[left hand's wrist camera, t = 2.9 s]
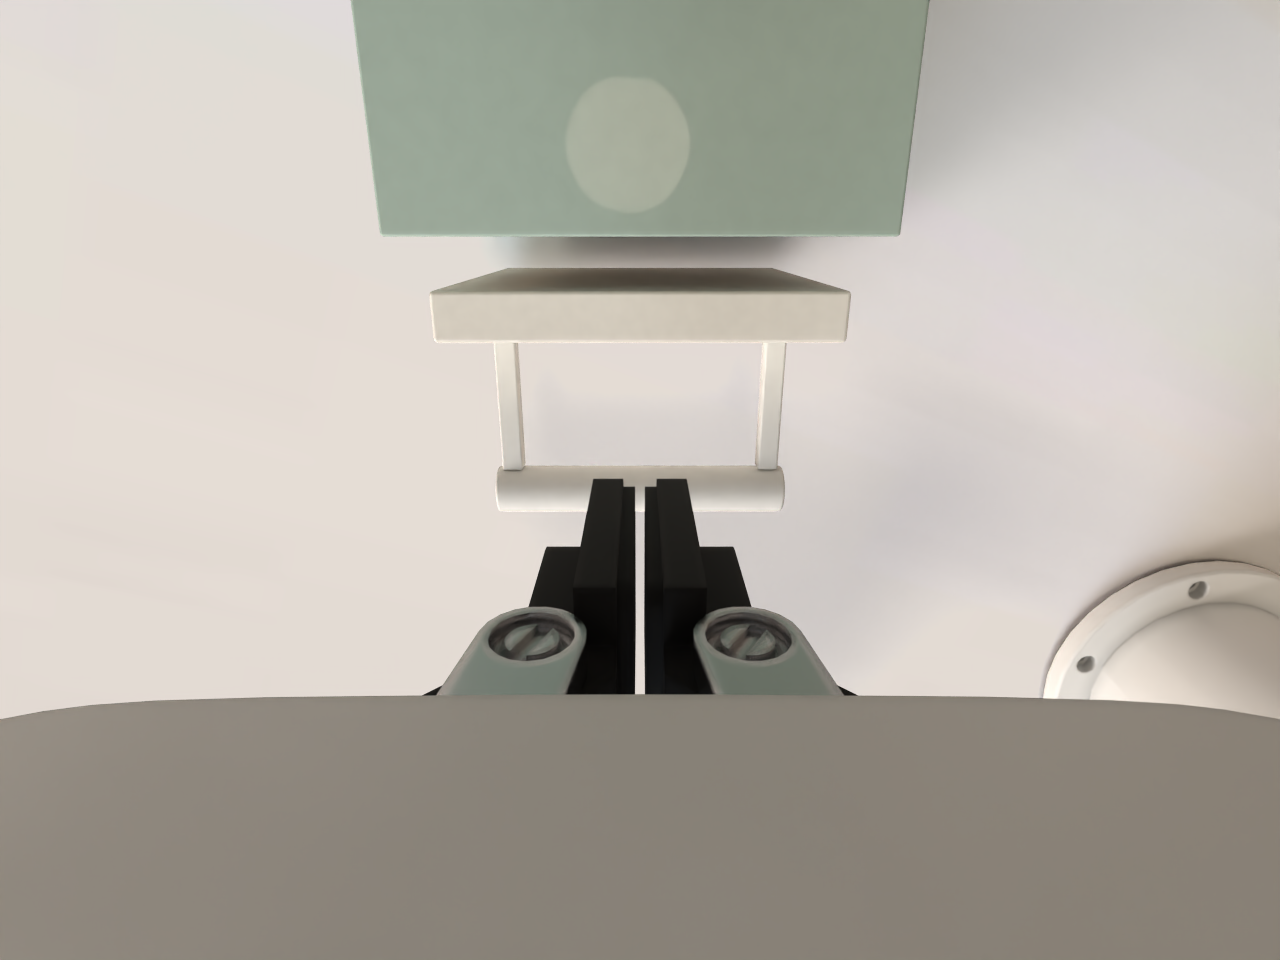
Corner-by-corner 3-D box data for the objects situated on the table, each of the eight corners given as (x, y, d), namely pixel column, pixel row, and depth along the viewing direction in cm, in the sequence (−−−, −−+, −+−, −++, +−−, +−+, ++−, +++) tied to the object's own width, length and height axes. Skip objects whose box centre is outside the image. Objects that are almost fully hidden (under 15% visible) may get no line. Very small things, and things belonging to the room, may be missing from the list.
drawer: (762, 447, 27) (824, 558, 18) (518, 447, 27) (456, 558, 18) (805, -215, 20) (945, -587, 11) (474, -215, 20) (333, -588, 11)
